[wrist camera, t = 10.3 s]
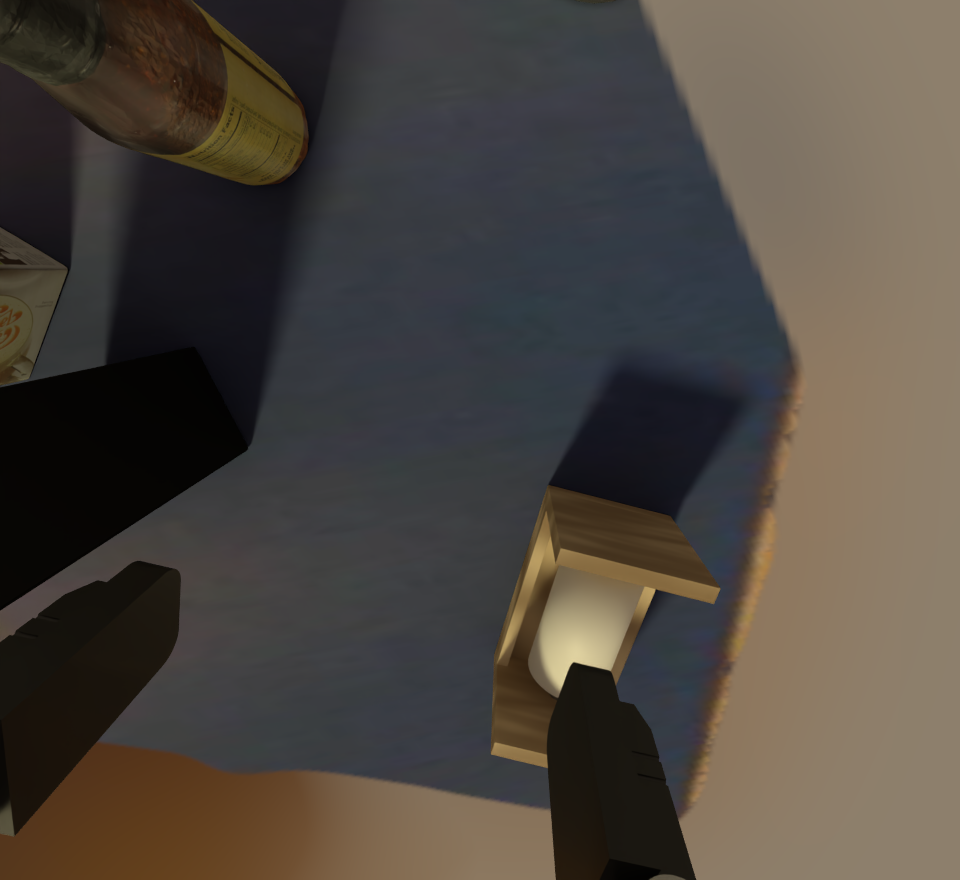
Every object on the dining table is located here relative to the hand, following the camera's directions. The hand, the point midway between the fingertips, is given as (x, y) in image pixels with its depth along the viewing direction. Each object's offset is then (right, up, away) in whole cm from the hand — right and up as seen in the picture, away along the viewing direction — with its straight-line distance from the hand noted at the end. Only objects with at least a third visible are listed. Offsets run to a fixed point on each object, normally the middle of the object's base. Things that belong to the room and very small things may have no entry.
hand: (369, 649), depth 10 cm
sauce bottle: (-11, +22, +20) cm, 32 cm away
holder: (+10, -7, +28) cm, 31 cm away
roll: (+9, -7, +27) cm, 30 cm away
